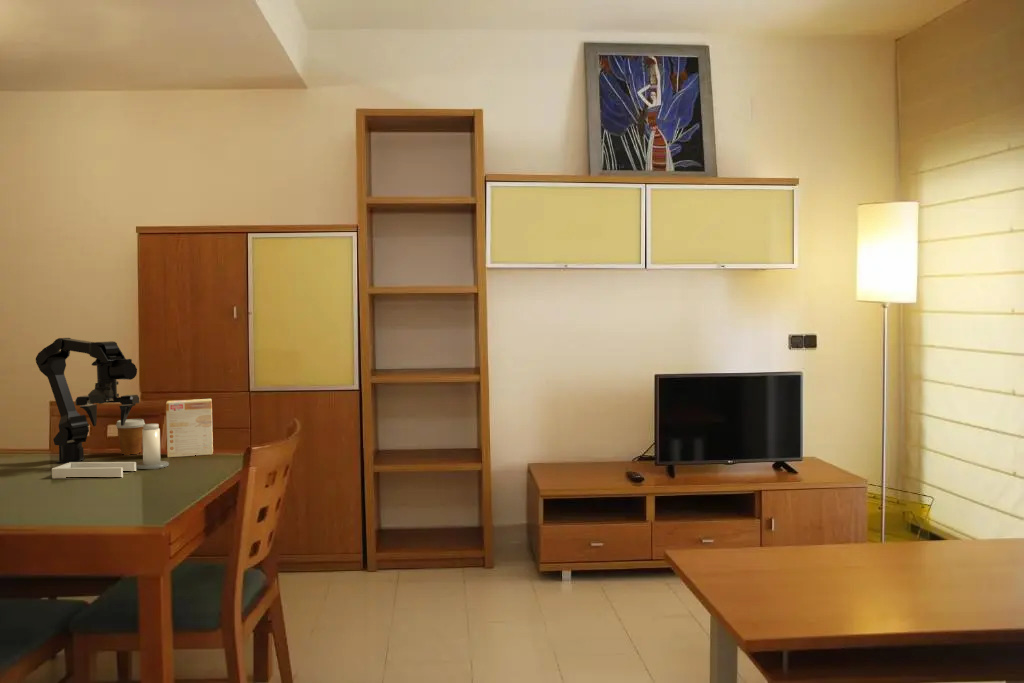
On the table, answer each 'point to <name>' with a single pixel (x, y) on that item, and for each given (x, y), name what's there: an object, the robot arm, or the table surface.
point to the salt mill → (151, 444)
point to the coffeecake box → (189, 427)
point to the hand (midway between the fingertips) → (108, 425)
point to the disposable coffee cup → (130, 436)
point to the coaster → (161, 465)
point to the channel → (93, 469)
